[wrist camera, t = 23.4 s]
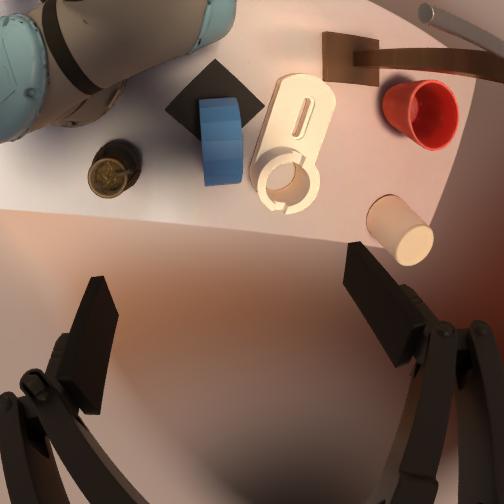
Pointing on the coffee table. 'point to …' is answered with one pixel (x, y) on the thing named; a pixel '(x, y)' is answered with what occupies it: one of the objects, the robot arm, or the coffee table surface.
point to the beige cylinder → (399, 230)
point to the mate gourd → (114, 170)
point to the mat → (208, 87)
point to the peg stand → (414, 53)
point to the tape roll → (221, 141)
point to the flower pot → (423, 112)
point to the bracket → (292, 141)
